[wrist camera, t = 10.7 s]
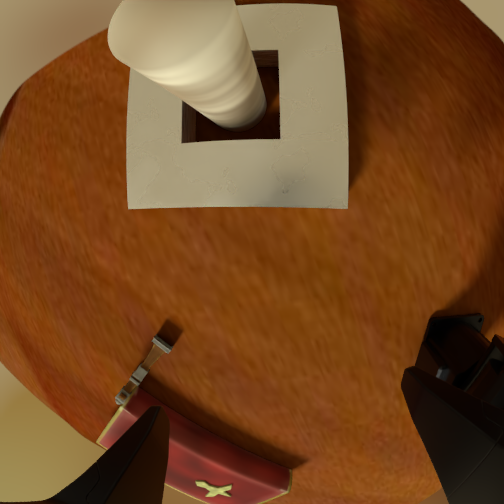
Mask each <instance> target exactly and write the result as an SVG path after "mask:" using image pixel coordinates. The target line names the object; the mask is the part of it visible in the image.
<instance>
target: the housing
mask: <svg viewBox="0 0 504 504" xmlns="http://www.w3.org/2000/svg"><path fill="white" fill-rule="evenodd" d="M236 7H237V10H238V12H239V15H240V18H241V21H242V24H243V27H244V30H245V33H246V36H247V39H248V42H249V45H250V48H251V51H252V54H253V58H254V61H255V64H256V67H279V89H280V139H253V140H224V141H207V142H196V109H194V108H193V107H191V106H190V105H189V104H187V103H186V102H184V101H183V100H181V99H180V98H178V97H177V96H175V95H174V94H172V93H171V92H169V91H168V90H166V89H165V88H163V87H161V86H160V85H158V84H157V83H155V82H154V81H152V80H150V79H149V78H147V77H146V76H144V75H142V74H141V73H139V72H137V71H136V70H134V69H133V68H131V70H130V81H129V94H128V111H127V195H128V209H143V208H173V207H308V208H338V209H348V166H349V161H348V116H347V97H346V82H345V70H344V59H343V50H342V41H341V33H340V25H339V18H338V12H337V6H330V5H317V4H291V3H277V4H251V5H238V6H236Z"/></svg>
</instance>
